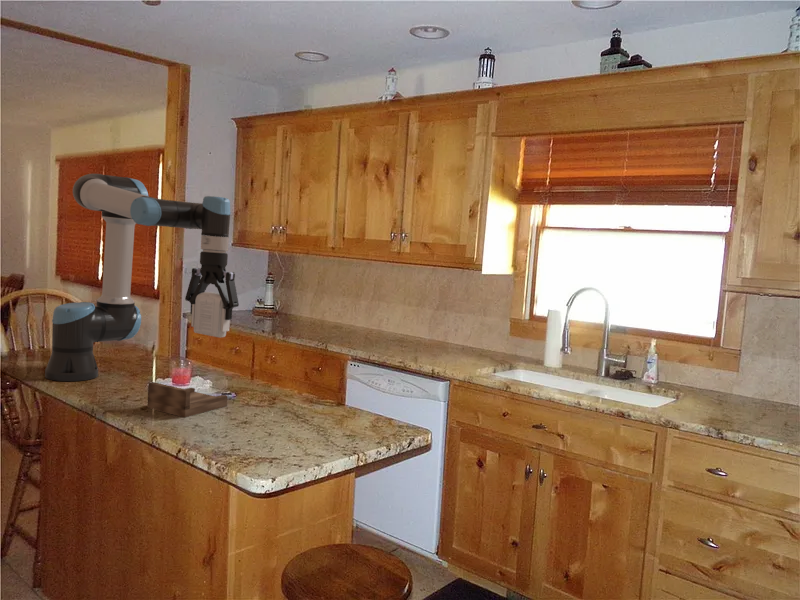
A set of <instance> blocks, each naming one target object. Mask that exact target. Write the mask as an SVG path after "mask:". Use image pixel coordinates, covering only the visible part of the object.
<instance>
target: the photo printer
mask: <svg viewBox="0 0 800 600" xmlns="http://www.w3.org/2000/svg"><path fill="white" fill-rule="evenodd" d="M223 307H224V304H223V302H222V299H221V297H220V294H219V292H215V291H205V292H203V293H200V294H198V295H197V297H196V301H195V317H194V327H193V332H194V333H195V334H201V335H205V336H208V337H214V338H225V337H226V336H227V331H224V332H222V331H221V319H222V308H223Z"/></svg>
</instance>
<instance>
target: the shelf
mask: <svg viewBox="0 0 800 600" xmlns="http://www.w3.org/2000/svg"><path fill="white" fill-rule="evenodd" d="M147 384H148V386H147V407H146V408H147V409H151V410H154V411H159V412H163V413H166V414H169V415H174V416H179V417H182V418H189V417H192V416H195V415H198V414H202V413H203V414H204V413H207V412H211V411H214V410H217V409H221V408H225V407H227V406H228V395H225V394H222V395H218V396H215V395H210V394H206V393H202V392H197V391H196V389H195V388H194V387H189V388H188V387H187V388H181V387H176V386H173V385H167V384H163V383H159V382H155V381H151V382H148V383H147Z"/></svg>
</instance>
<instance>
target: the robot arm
mask: <svg viewBox="0 0 800 600" xmlns="http://www.w3.org/2000/svg"><path fill="white" fill-rule="evenodd" d="M72 196H73V198H74V201H75V202H76V203H77V204H78V205H79V206H81V207H82V208H84V209H86V210H90V211H95V212H101V218H102V219H103V220H104V221H105V225H106V226H105V236H104V237H105V238H104V239H105V241H104V258H103V259H104V261H103V273H102V275H103V276H102V290H101V291H102V293H101V296H99V297H98V298H97V299H96V306H95V304H94V303H93V302H88V301H81V302H78V301H77V302H76V301H74V302H68V303H63V304H60V305H58V306H56V307H55V308H54V310H53V314H52V320H51V323H52V336H51V338H52V341H51V355H50V357H49V360H48V363H47V364H46V367H45V372H44V377H45V378H46V379H47V380H51V381H58V382H81V381H88V380H93V379H96V378H98V377H99V368H98V364H97V360H96V358H95V355H94V343H101V342H114V341H115V342H121V341H124V340H130V339H132V338H134V337H135V336H136V335H137V334H138V332H139V331H140V328H141V324H142V314H141V311H140V308H139V307H138V306H137V305H136V304H135V302H136V301H135V300H134V299H133V298H132V297H131V289H132V274H133V260H134V259H133V258H134V256H133V255H134V243H135V227H136V225H142V226H146V227H153V226H155V227H167V228H177V229H178V228H180V229H185V230H186V229H189V230H191V229H192V230H196V229H197V230H201V233H200V234H201V237H200V238H201V239H200V249H201V250H202V251H200V253H199V254H200V255H199V264H200V266H201V267H200V268H199V267H196V268H195V267H193V268H191V277H190V280H189V284H188V288H187V290H186V294H185V296H184V300H185V301H186V302H189V303H190V311H189V312H190V315H191V323H190V324H191V325H190V327H193V328H194V317H195V301H196V297H197V295H198V294H200V293H203V292H206V290H207V288H208V286H210V285H214V287H215V288H216V290H217V291H218V292H217V293H218V294H220V297H221V299H222V302H223V304H224V307H223V308H222V319H221V331H222V332H224V331H226V332H229V331H230V325H231V320H232V318H233V309H234V308H236V307H237V308H239V306H240V304H239V299H238V293H237V286H236V281H235V278H236V273H235V272H234V271H227V269H226V267H227V266H228V255H229V254H228V253H227V252H228V251H229V242H230V241H229V235H230V223H231V222H230V221H231V220H230V219H231V200H230V199H229V198H227V197H223V196H222V197H221V196H215V195H214V196H210V195H206V196H204V197H203V199H202V203H200V202H192V201H191V202H190V201H189V202H188V201H180V200H173V199H172V200H169V199H162V198H156V197H153V196H149V193H148V190H147V187H145V184H144V183H143V182H142V181H140V180H139V179H135V178H131V177H124V176H117V175H109V174H102V173H88V174H85V175H82V176H80V177H79V178H78V179H77V180H75V182H74V184H73V187H72Z"/></svg>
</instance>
